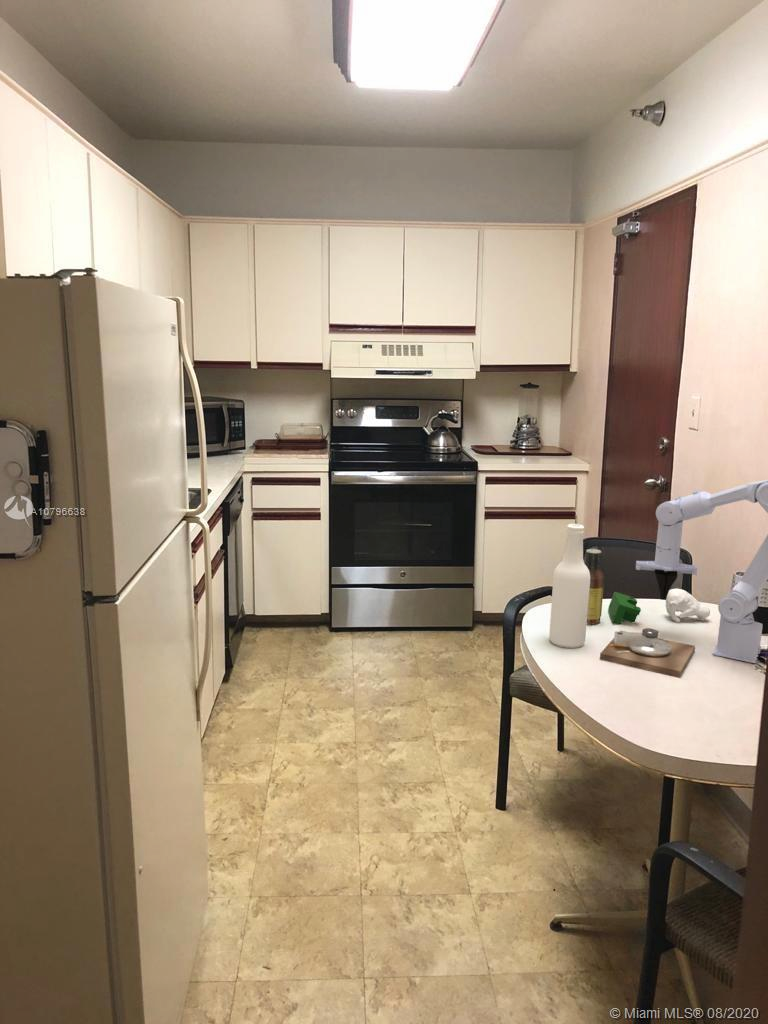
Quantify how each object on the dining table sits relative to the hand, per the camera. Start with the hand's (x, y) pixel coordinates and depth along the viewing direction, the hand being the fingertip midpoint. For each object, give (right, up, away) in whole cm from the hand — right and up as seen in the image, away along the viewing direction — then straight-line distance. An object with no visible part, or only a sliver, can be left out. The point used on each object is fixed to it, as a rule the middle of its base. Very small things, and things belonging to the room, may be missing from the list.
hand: (662, 598), depth 193 cm
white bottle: (-26, -10, -5) cm, 29 cm away
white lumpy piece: (+11, -7, +12) cm, 18 cm away
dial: (-10, -10, -13) cm, 19 cm away
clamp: (-6, -7, +12) cm, 16 cm away
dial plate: (-8, -12, -13) cm, 19 cm away
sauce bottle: (-17, -7, +10) cm, 21 cm away
